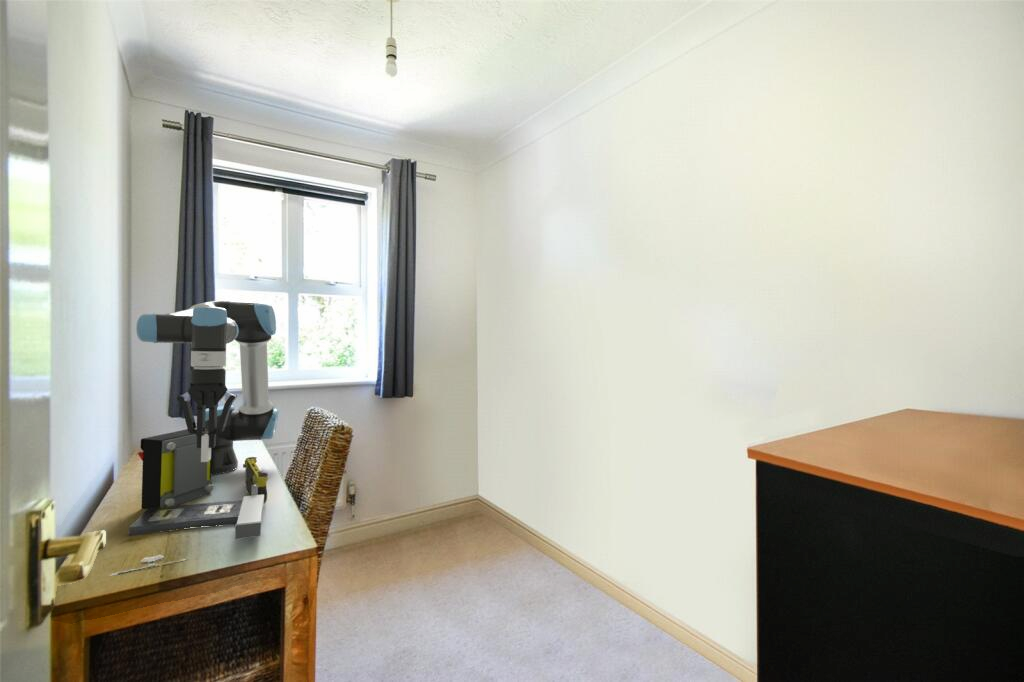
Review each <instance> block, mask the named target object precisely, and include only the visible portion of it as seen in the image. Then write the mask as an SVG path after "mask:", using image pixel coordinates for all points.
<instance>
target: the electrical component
mask: <svg viewBox="0 0 1024 682" xmlns="http://www.w3.org/2000/svg"><path fill="white" fill-rule="evenodd" d="M208 430H209V429H205V431H206V432H205V433H204V434H208ZM139 447H140V449H141V451H138V452H137V455H138V457H139V458H140V459H141V461H142V473H141V474H142V475H141V476H142V477H141V479H142V480H141V510H146V509H148V508H156V507H167V506H178V505H180V504H182V503H186V502H188V501H190V500H193V499H196V498H199V497H201V496H204V495H207V494H209V493H211V492H213V490H214V487H215V486H214V485H213V481H212V475H211V459H212V448H211V459H210V460H209V461H208V462H201V448H197V435H195V434H192V433H191V434H190V433H189V432H188V429H187V428H186V429H183V430H177V431H172V432H168V433H163V434H158V435H153V436H148V437H143V438H141V439H140V446H139Z"/></svg>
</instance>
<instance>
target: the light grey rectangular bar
mask: <svg viewBox="0 0 1024 682" xmlns="http://www.w3.org/2000/svg"><path fill="white" fill-rule="evenodd" d="M242 500H243V501H242V505H241V509H240V513H239V517H238V521H237V524H235V533H234V534H235V537H234V540H239V539H240V540H241V539H248V538H255V537H260V536H261V530H262V520H263V515H264V507H265V506H264V505H265V504H264V494H263V495H253V496H249V495H245V496H243V498H242Z"/></svg>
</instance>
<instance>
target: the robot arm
mask: <svg viewBox="0 0 1024 682" xmlns="http://www.w3.org/2000/svg"><path fill="white" fill-rule="evenodd" d="M276 332H277V320H276V314H275V310H274V308H273V306H272V305H271V304H270V302H264V301H258V300H228V299H219V300H218V299H217V300H211V301H206V302H201V303H196V304H193V305H192V306H190V307H189V308H187V309H184V310H180V311H174V312H170V313H165V314H164V313H163V314H161V313H160V314H159V313H151V314H150V313H144V314H141V315H140V316H139V317H138V318H137V321H136V335H137V338H138V340H140V341H141V342H144V343H153V344H157V343H158V344H159V343H160V344H164V343H165V344H168V343H169V344H190V345H191V350H190V366H191V367H192V368H191V369H190V373H189V374H190V376H189V377H190V381H189V383H190V384H189V386H188V387H189V388H188V389H187V392H185V393H183V394H181V395H178V396H177V397H176V400H177V401H178V403H179V404H180V405H181V408H182V412H183V416H184V420H185V425H186V429H188V432H189V433H190V434H191V433H192V434H195V435H197V448H201V462H208V461H209V460H210V459H211V448H212V459H211V474H212V475H218V474H219V473H220V474H224V473H223V472H225V473H229V472H232V471H231V470H233V469H235V468H237V467H238V468H239V461H238V458H237V455H236V452H235V449H234V442H235V441H237V442H238V441H241V442H242V441H243V442H244V441H264V440H271V439H273V437H275V434H276V430H277V425H278V419H279V418H278V417H279V409H278V408H274V403H273V402H272V401H270V399H269V396H270V395H269V394H270V393H269V372H268V371H269V370H268V343H269V342H270V341H271V339H272V336H273V335H275V334H276ZM233 341H235V342H236V343H238V344H239V354H240V372H241V373H240V376H241V388H242V389H241V392H242V393H241V395H242V403H241V404H240V405H239V406H238V409H236V408H235V405H233V403H234V402H235V401H236V399H237V397H238V396H237V394H233V393H231V392H230V391H228V388H227V386H226V378H227V377H226V376H227V375H226V373H227V371H226V370H227V369H225V368H224V367H226V366H227V344H230V343H232V342H233ZM223 398H224V401H225V403H224V405H222V406H221V405H219V402H221V400H222V399H223ZM191 399H192V400H193V401H194V402H195V404H196V420H195V416H194V412H193V408H192V405H191ZM207 405H208V408H207ZM205 429H209V430H208V434H204V433H205V432H206V431H205ZM238 468H237V469H238ZM235 470H236V469H235ZM228 471H229V472H228ZM233 471H234V470H233Z"/></svg>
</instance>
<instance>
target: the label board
mask: <svg viewBox="0 0 1024 682" xmlns="http://www.w3.org/2000/svg"><path fill="white" fill-rule="evenodd" d="M253 495H258V485H257V484H255V485H251V496H253ZM242 501H243V499H238V500H237V499H236V500H227V501H214V502H213V501H212V502H205V503H203V502H202V503H191V504H181V505H180V504H177V505H174V506H167V507H156V508H148V509H147V510H146V509H145V511H144V512H143V513H142V514H141V515H140V516H138V518H136V520H135V521H133V522H132V523H131V524H130V526H128V536H134V535H135V534H136V535H144V533H146V534H154V532H155V533H161V532H160V531H165V532H170V531H169V530H175V531H177V530H176V529H184V528H190V527H201V526H213V527H220V526H219V525H223V526H233V525H236V524H237V521H238V517H239V513H240V509H241V505H242ZM216 525H217V526H216ZM184 530H185V529H184ZM136 535H135V536H136Z"/></svg>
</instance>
